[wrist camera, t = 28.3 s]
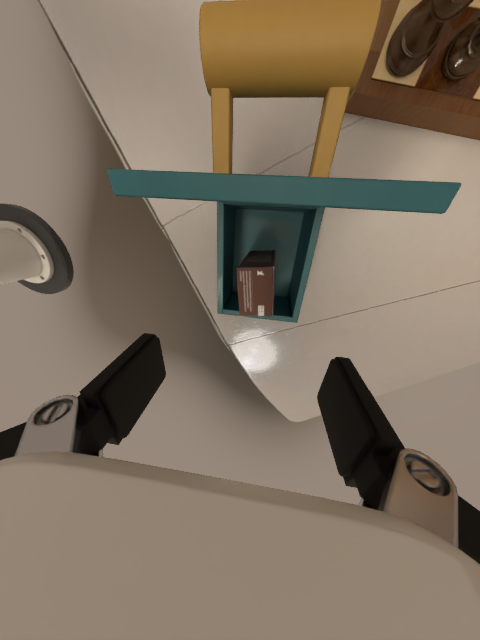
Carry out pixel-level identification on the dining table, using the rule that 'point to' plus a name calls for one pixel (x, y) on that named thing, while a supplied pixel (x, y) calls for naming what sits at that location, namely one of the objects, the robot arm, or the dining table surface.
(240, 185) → the lid
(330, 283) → the dining table surface
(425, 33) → the chess set
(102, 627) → the robot arm
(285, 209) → the chest
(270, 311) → the box
